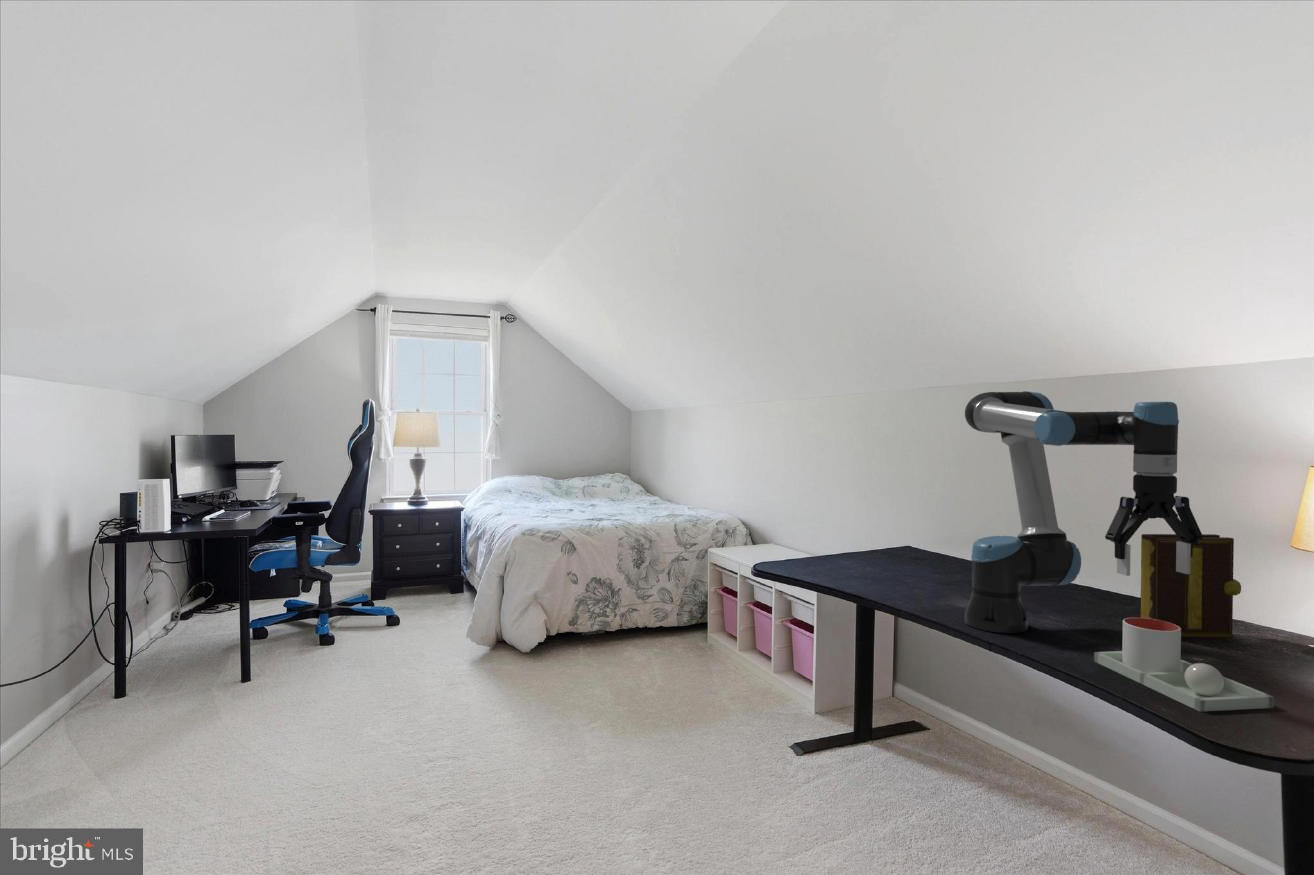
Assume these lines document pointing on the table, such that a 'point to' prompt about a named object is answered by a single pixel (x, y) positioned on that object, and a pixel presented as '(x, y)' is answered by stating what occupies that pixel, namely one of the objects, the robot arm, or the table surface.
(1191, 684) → the egg
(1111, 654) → the holder
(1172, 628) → the cup
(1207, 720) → the table surface
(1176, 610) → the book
